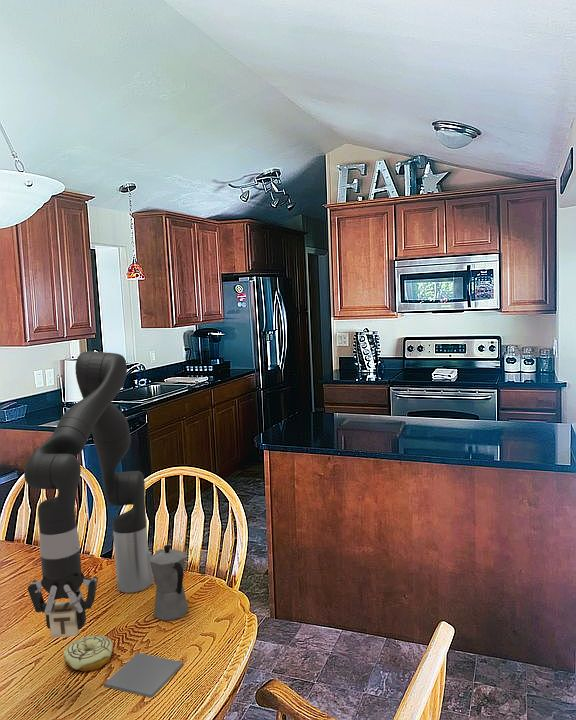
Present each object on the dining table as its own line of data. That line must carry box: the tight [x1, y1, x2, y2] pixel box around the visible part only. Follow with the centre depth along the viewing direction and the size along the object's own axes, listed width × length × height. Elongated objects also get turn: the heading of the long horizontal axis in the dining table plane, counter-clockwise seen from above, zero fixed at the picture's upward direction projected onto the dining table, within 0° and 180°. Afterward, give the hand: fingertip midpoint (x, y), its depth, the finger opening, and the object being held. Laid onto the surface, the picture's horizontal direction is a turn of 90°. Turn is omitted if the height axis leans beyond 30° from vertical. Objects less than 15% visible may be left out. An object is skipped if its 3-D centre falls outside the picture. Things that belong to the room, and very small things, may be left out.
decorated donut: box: [63, 634, 114, 672], centre depth 142 cm, size 10×11×4 cm
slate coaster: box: [103, 652, 184, 699], centre depth 135 cm, size 12×12×1 cm
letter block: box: [49, 601, 80, 639], centre depth 129 cm, size 5×5×5 cm
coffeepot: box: [150, 544, 189, 622], centre depth 160 cm, size 15×9×18 cm, turn 33°
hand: (67, 627), depth 129 cm, fingers closed on letter block, 5 cm apart
